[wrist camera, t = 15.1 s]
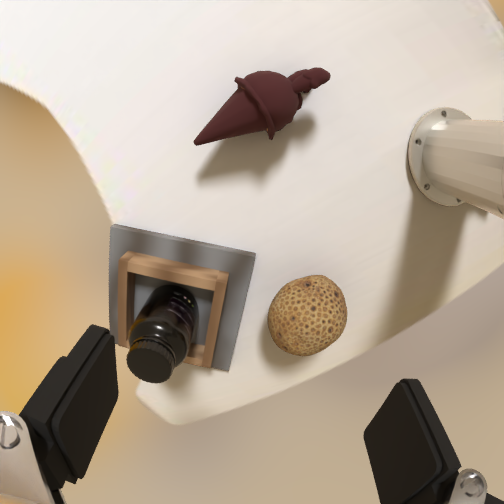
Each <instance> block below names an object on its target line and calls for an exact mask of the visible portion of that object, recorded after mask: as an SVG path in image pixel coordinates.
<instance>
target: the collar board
mask: <svg viewBox="0 0 504 504" xmlns="http://www.w3.org/2000/svg"><path fill="white" fill-rule="evenodd" d="M255 256H256V253H252V252H247V251H243V250H238V249H233V248H228V247H223V246H218V245H214V244H209V243H204V242H199V241H194V240H190V239H185V238H180V237H175V236H170V235H165V234H161V233H156V232H151V231H146V230H141V229H136V228H132V227H127V226H122V225H117V224H114V225H112V226H111V230H110V251H109V320H110V321H109V322H110V334H111V335H113V336H114V338H115V344H118V345H119V346H122V347H126V348H129V349H130V346H129V342H128V334H129V331H130V328H131V326H132V324H133V323H134V321H135V319H136V317H137V316H138V314H139V312H140V311H141V309H142V307H143V306H144V304H145V302H146V300H147V299H148V297H149V296H150V294H151V293H152V292H153V291H154V290H155V289H156V288H158V287H160V286H163V285H177V286H180V287H182V288H184V289H186V290H187V291H189V292H190V293H191V294H192V295H193V296H194V298H195V299H196V301H197V304H198V308H199V314H198V319H197V323H196V326H195V330H194V333H193V337H192V341H191V344H190V348H189V351H188V354H187V357H186V359H185V360H184V361H183V362H184V363H188V364H193V365H198V366H202V367H207V368H216V369H221V370H227V371H229V367H230V363H231V358H232V354H233V350H234V346H235V342H236V337H237V333H238V329H239V325H240V321H241V316H242V312H243V308H244V304H245V299H246V295H247V291H248V287H249V282H250V278H251V274H252V270H253V265H254V261H255Z"/></svg>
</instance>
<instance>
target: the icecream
mask: <svg viewBox="0 0 504 504" xmlns="http://www.w3.org/2000/svg"><path fill="white" fill-rule="evenodd" d="M329 79H330V73H329V72H327V71H326V70H324V69H322V68H312V69H309V70H307V69H305V70H301V71H297V72H295V73H294V74H292V75H291V76H289V77H288V78H286V77H285V76H283V75H281V74H280V73H276V72H271V71H257V72H255V73H252V74H249V75H247V76H246V77H245V78H244V79H242V78H238V77H235V82H236V83H237V84H238V89H237V90H236V91H235V93H234V94H233V95H232V96H231V97H230V98H229V99H228V101H227V102H226V103H225V104H224V105H223V106H222V107H221V109H220V110H219V111H218V112H217V113H216V114H215V116H214V117H213V118H212V119H211V120H210V122H209V123H208V124H207V125H206V126H205V128H204V129H203V130H202V131H201V132H200V134H199V135H198V136H197V137H196V139H195V140H194V144H195V145H196V146H197V145H202V144H206V143H210V142H214V141H218V140H222V139H226V138H231V137H235V136H240V135H244V134H249V133H254V132H259V131H264V130H266V132H267V134H268V135H269V139H271V140H272V139H273V137H274V134H275V132H276V131H279V130H281V129H282V128H283V127H284V126H285V125H286V124H288V123H291V122H292V120H293V116H294V115H295V113H296V111H297V110H299V109H300V108H301V106H302V100H303V99H302V96H301V93H300V92H302V91H303V93H308V92H309V91H310V90H311V89H312V88H313V89H316V88H318V87H319V86H320V85H322V84H324V83H326V82H327V81H328V80H329Z"/></svg>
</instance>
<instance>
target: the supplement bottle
mask: <svg viewBox="0 0 504 504" xmlns="http://www.w3.org/2000/svg"><path fill="white" fill-rule="evenodd" d="M198 314H199V308H198V304H197V301H196V299H195V298H194V296H193V295H192V294H191V293H190V292H189V291H187V290H186V289H184V288H182V287H180V286H177V285H163V286H160V287H158V288H156V289H155V290H154V291H153V292H152V293H151V294H150V296H149V297H148V299H147V300H146V302H145V304H144V306H143V307H142V309H141V311H140V312H139V314H138V316H137V317H136V319H135V321H134V323H133V324H132V326H131V328H130V331H129V334H128V342H129V346H130V350H129V352H128V354H127V359H126V360H127V365H128V367H129V369H130V371H131V372H132V373H133V374H134V375H135V376H136V377H138V378H139V379H142V380H143V381H146V382H150V383H161V382H164V381H167V379H169V378H170V376H171V374H172V371H173V369H174V368H175V367H177V366H178V365H180V364H181V363H182V362H183V361H184V360H185V359H186V357H187V354H188V351H189V348H190V344H191V341H192V337H193V333H194V330H195V326H196V323H197V319H198Z"/></svg>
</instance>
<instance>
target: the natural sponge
mask: <svg viewBox="0 0 504 504" xmlns="http://www.w3.org/2000/svg"><path fill="white" fill-rule="evenodd" d="M346 321H347V307H346V303H345V298H344V295H343V293H342V291H341V289H340V288H339V287H338V286H337V285H336V284H335V283H334V282H333V281H332V280H330V279H329V278H327V277H325V276H323V275H312V276H307V277H303V278H300V279H296V280H293V281H291V282H289V283H287V284H286V285H285V286H283V287H282V288H281V289H280V291H279V292H278V293H277V294H276V296H275V297H274V299H273V301H272V303H271V305H270V308H269V312H268V326H269V330H270V333H271V336H272V338H273V340H274V342H275V343H276V345H277V346H278V347H279V348H281V349H282V350H284V351H285V352H288V353H291V354H294V355H299V356H309V355H313V354H315V353H318V352H320V351H322V350H324V349H326V348H327V347H328V346H330V345H331V344H332V343H334V342H335V341H336V340H337V339H338V338H339V337H340V336H341V334H342V333H343V330H344V328H345V325H346Z"/></svg>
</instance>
